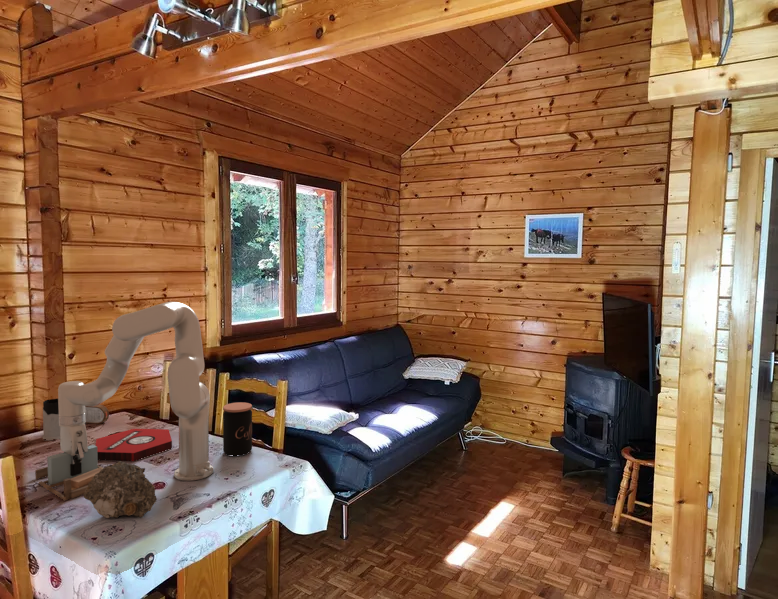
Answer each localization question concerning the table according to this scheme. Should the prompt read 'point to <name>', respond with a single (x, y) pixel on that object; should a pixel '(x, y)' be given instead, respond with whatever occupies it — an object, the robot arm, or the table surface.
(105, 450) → the red flat hexagonal block
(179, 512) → the table surface
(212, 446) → the table surface
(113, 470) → the rock
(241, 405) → the coffee jar
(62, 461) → the grey-green rectangular block
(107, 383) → the robot arm
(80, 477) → the offcut top
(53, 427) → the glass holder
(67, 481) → the rack
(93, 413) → the tin
